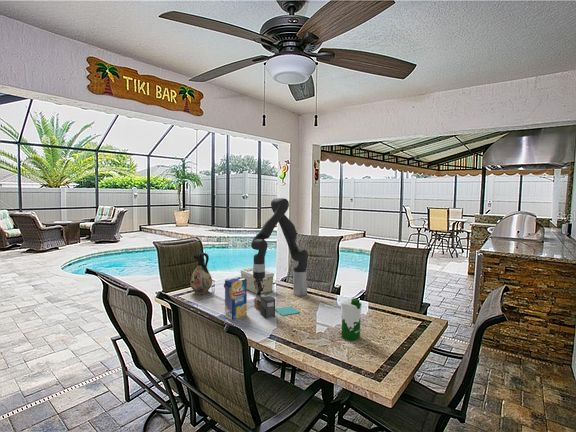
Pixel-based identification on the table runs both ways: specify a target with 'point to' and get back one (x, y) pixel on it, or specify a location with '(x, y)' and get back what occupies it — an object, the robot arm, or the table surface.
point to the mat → (286, 310)
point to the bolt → (269, 304)
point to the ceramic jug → (201, 275)
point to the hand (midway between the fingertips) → (258, 297)
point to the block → (257, 303)
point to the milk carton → (351, 319)
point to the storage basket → (250, 280)
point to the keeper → (265, 310)
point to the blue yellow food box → (235, 298)
